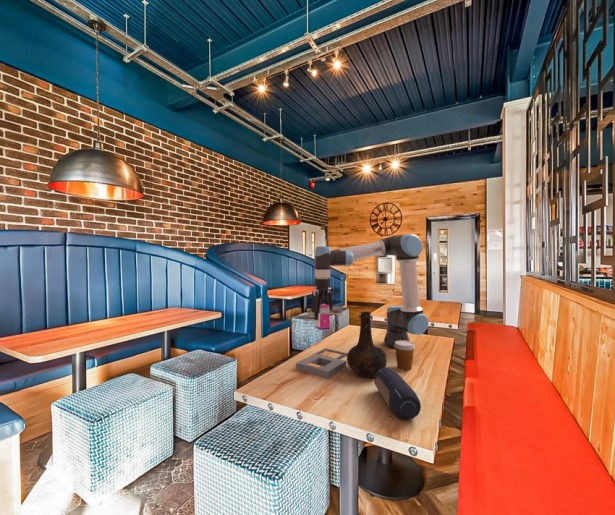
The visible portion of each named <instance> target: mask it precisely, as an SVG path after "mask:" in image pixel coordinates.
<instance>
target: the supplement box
mask: <svg viewBox="0 0 615 515" xmlns="http://www.w3.org/2000/svg"><path fill="white" fill-rule="evenodd" d="M330 306H331V305H330ZM330 306H329V305H327V304H324V303H321V306H320V310H319V313H320V327H316V326H315V325H314V328H316V329H317V330H319V331H321V330H330V328H331V325H330V324H331V310H330Z"/></svg>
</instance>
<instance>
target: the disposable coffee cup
mask: <svg viewBox="0 0 615 515" xmlns="http://www.w3.org/2000/svg"><path fill="white" fill-rule="evenodd" d="M394 346H395V348H394V350H395V356H396V357H395V360H396V366H397V369H399V370H401V371H406V372H407V371H412V367H413V366H412V365H413V360H414V359H413V358H414V351H415V348H416V346H415V343H414V342H412V341H411V340H410V341H405V340H399V341H396V342H395V344H394Z"/></svg>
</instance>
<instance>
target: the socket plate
mask: <svg viewBox="0 0 615 515" xmlns="http://www.w3.org/2000/svg"><path fill="white" fill-rule="evenodd" d="M316 353H317V352H315V353H313V354H312V355H308V356H307V357H305V358H303V359H302V360H299V361H297V362H296V363H295V367H296V368H295V370H297V369H298V371H301V372H304V373H307V372H308V374H311V375H314V374H315V375H314V376H318V375H319V376H318V377H321V376H322V378H324V377H325V379H330V378H332V377H333V376H335V375H336V374H338V373H339V372H341V371H343V370H345V369H346V368H347V360H345V359H344V360H343V359H336V358H337V357H332V356H327V355H323V354H316ZM317 364H318V365H317ZM322 364H323V365H322ZM342 369H343V370H342ZM331 376H332V377H331Z"/></svg>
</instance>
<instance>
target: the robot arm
mask: <svg viewBox="0 0 615 515" xmlns="http://www.w3.org/2000/svg"><path fill="white" fill-rule="evenodd" d="M423 246H424V245H423V242H422V240H421V238H420V237H418V236H417V235H416V234H413V233H406V234H398V235H397V234H396V235H390V236H388V237H385V238H379V239H377V240H376V241H374V242H369V243H363V244H359V245H354V246H348V247H343V248H339V249H338V248H337V249H333V250H332V249H331V246H320V245H319V246H316V247H315V249H314V286H315V287H316V289H315V290H312V292H311V293H312V294H311V295H312V297H311V298H312V299H311V309H310V310H311V313H312V314H313V318H314V327H315V326H316V327H320V313H319V310H320V306H321V304H322V300H323V304H327V305H329V306H330V311H332V310H333V289H332V288H329V287H330V286H331V266H338V267H341V266H343V267H346V266H347V267H348V266H352V265H353V263H354V261H355V260H360V259H366V258H370V257H376V256H380V257H384V256H395V260H396V261H397V263H399V273H400V274H399V276H400V287H401V297H402V305H392V306H387V308H386V332H385V335H384V338H383V345H384V346H385V347H387V348H390V349H395V346H394V344H395V342H396V341H399V340H405V341H410V342H411V340H410V337H409V334H411V335H414V336H419V335H423V334H424V333H425V332H426V330H427V329H428V327H429V318H428V317H427V316H426V314H424V308H423V307H422V306H421V305H420V294H419V282H418V270H417V269H418V268H417V262H418V261H419V257H420V255H421V253H422V251H423V249H424V248H423ZM316 327H315V328H316Z"/></svg>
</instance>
